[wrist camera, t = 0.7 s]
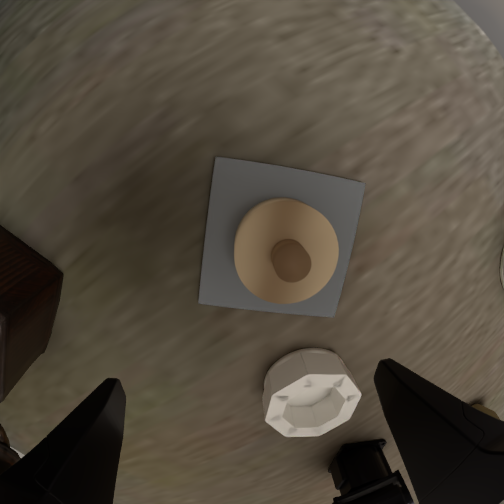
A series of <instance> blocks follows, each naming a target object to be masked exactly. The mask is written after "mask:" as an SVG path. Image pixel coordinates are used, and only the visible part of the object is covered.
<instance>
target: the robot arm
mask: <svg viewBox="0 0 504 504" xmlns="http://www.w3.org/2000/svg"><path fill="white" fill-rule="evenodd" d="M374 383H375V386H376V389H377V393H378V396H379V399H380V403H381V406H382V409H383V413H384V416H385V418H386V421H387V423H388V425H389V428H390V430H391V432H392V435H393V437H394V440H395V442H396V445H397V447H398V450H399V452H400V454H401V457H402V459H403V462H404V465H405V467H406V470H407V472H408V475H409V477H410V480H411V483H412V485H413V488H414V491H415V493H416V496H417V499H418V502H419V504H504V421H501V420H499V419H497V418H495V417H492V416H490V415H488V414H486V413H484V412H482V411H480V410H478V409H476V408H474V407H472V406H470V405H469V404H467V403H465V402H463V401H461V400H460V399H458V398H456V397H455V396H453V395H451V394H450V393H448V392H446V391H445V390H443V389H441V388H439V387H438V386H436V385H434V384H433V383H431V382H429V381H428V380H426V379H424V378H423V377H421V376H419V375H418V374H416V373H414V372H413V371H411V370H409V369H408V368H406V367H404V366H403V365H401V364H399V363H398V362H396V361H394V360H393V359H390V358H388V359H383V360H380V361H379V363H378V366H377V369H376V372H375V375H374ZM125 406H126V395H125V392H124V390H123V387H122V385H121V382H120V380H119V379H117V378H107V379H105V380H104V381H103V382H102V383H101V384H100V385H99V386H98V387H97V388H96V389H95V390H94V391H93V392H92V393H91V394H90V395H89V396H88V397H87V398H86V399H85V400H83V401H82V402H81V403H80V404H79V405H78V406H77V407H76V408H75V409H74V410H73V411H72V412H71V413H70V414H69V415H68V416H67V417H66V418H65V419H64V420H63V421H62V422H61V423H60V424H59V425H57V426H56V427H55V428H54V429H53V430H52V431H51V432H50V433H49V434H48V435H47V438H46V437H45V438H44V439H43V440H42V441H41V442H40V443H39V444H38V445H37V446H35V447H34V448H33V449H32V450H31V451H30V452H29V453H27V454H26V455H25V456H24V457H23V458H21V459H20V460H19V461H17V462H16V463H15V464H13V465H12V466H11V467H9V468H8V469H7V470H5V471H4V472H3V473H1V474H0V504H113V498H114V490H115V483H116V477H117V470H118V464H119V458H120V452H121V447H122V441H123V432H124V418H125ZM386 443H387V442H386V440H378V441H371V442H363V443H355V444H346V445H344V446H342V448H341V449H340V451H339V453H338V454H337V456H336V457H335V459H334V461H333V462H332V464H331V465H330V467H329V469H328V472H329V473H331V474H332V478H333V481H334V484H335V488H336V489H337V490H340V493H341V496H339V497H335V498H333V501H334V502H333V503H332V504H414V502H413V499H412V497H411V495H410V492H409V490H408V488H407V486H406V484H405V482H404V480H403V478H402V476H401V474H400V472H399V470H397V471H395V472H394V473H392V471H391V469H390V466H389V464H388V462H387V460H386V458H385V455H384V453H383V451H382V449H383V447H384V446H385V444H386Z"/></svg>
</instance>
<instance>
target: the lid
mask: <svg viewBox="0 0 504 504" xmlns="http://www.w3.org/2000/svg"><path fill="white" fill-rule="evenodd" d="M338 255H339V247H338V240H337V236H336V234H335V231H334V229H333V227H332V225H331V224H330V222H329V221H328V220H327V219H326V218H325V217H324V216H323V215H322V214H321V213H320V212H318V211H317V210H315V209H314V208H312V207H310V206H309V205H307V204H305V203H303V202H302V201H299V200H296V199H293V198H286V197H277V198H272V199H268V200H265V201H263V202H261V203H259V204H257V205H256V206H254V207H253V208H252V209H250V210H249V211H248V212H247V213H246V214H245V216H244V217H243V218H242V220H241V221H240V223H239V225H238V228H237V231H236V234H235V242H234V261H235V267H236V270H237V273H238V276H239V278H240V279H241V281H242V283H243V284H244V285H245V287H246V288H247V289H248V290H249V291H250V292H252V293H253V294H254V295H255V296H257V297H259V298H261V299H263V300H265V301H268V302H271V303H277V304H291V303H296V302H300V301H303V300H305V299H308V298H310V297H311V296H313V295H315V294H316V293H317V292H319V291H320V290H321V289H322V288H323V287H324V286H325V285H326V284H327V283H328V281H329V280H330V278H331V277H332V275H333V273H334V271H335V268H336V265H337V262H338Z"/></svg>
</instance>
